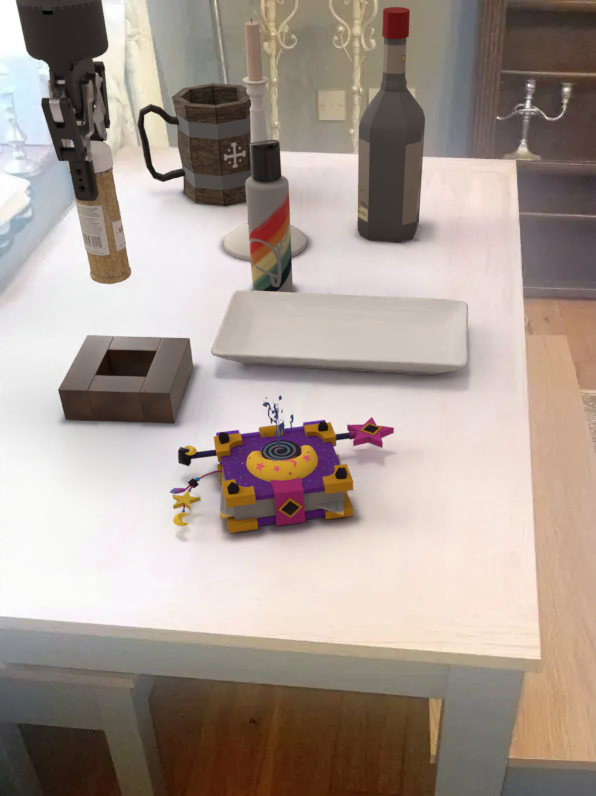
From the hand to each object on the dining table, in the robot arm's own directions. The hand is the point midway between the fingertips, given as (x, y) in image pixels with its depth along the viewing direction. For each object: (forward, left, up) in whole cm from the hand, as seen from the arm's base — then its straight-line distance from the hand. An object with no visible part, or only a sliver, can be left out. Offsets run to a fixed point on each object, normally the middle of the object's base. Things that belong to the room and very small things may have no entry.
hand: (94, 189), depth 92 cm
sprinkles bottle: (0, 0, -10) cm, 10 cm away
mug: (-2, +65, -24) cm, 69 cm away
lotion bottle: (+14, +28, -24) cm, 39 cm away
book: (+21, -18, -24) cm, 37 cm away
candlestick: (+11, +44, -24) cm, 51 cm away
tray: (+25, +12, -24) cm, 37 cm away
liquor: (+30, +50, -24) cm, 63 cm away
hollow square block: (0, 0, -24) cm, 24 cm away
